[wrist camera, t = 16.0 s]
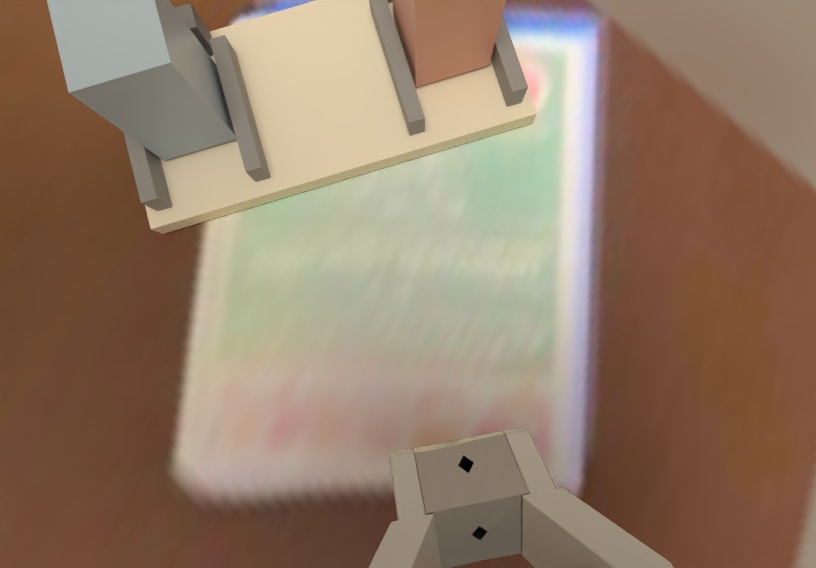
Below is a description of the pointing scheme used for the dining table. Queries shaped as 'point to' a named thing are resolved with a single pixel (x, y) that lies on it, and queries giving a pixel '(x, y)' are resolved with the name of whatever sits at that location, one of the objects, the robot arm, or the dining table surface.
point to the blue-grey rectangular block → (142, 73)
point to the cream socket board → (321, 109)
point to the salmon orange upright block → (446, 35)
